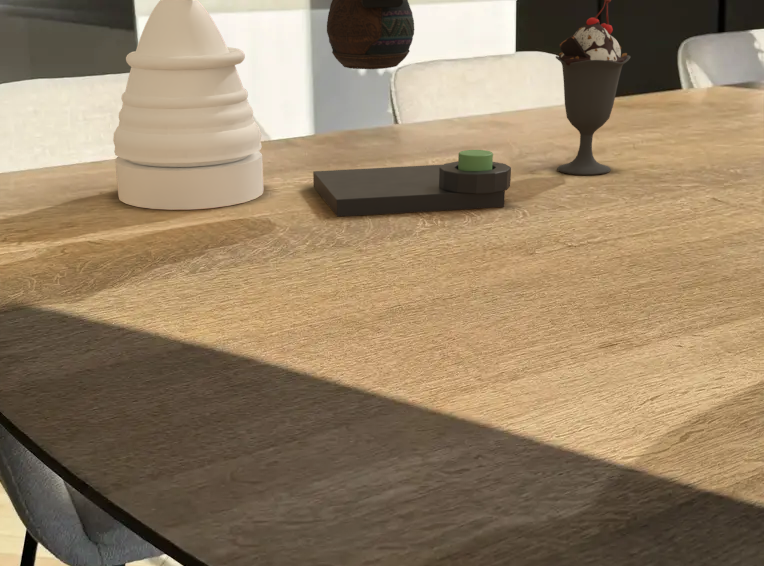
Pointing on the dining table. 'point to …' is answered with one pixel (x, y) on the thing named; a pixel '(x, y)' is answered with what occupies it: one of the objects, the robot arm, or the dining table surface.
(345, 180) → the black green button base
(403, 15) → the mate gourd
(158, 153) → the honey pot
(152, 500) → the dining table surface
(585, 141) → the sundae
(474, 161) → the button
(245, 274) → the dining table surface
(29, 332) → the dining table surface
